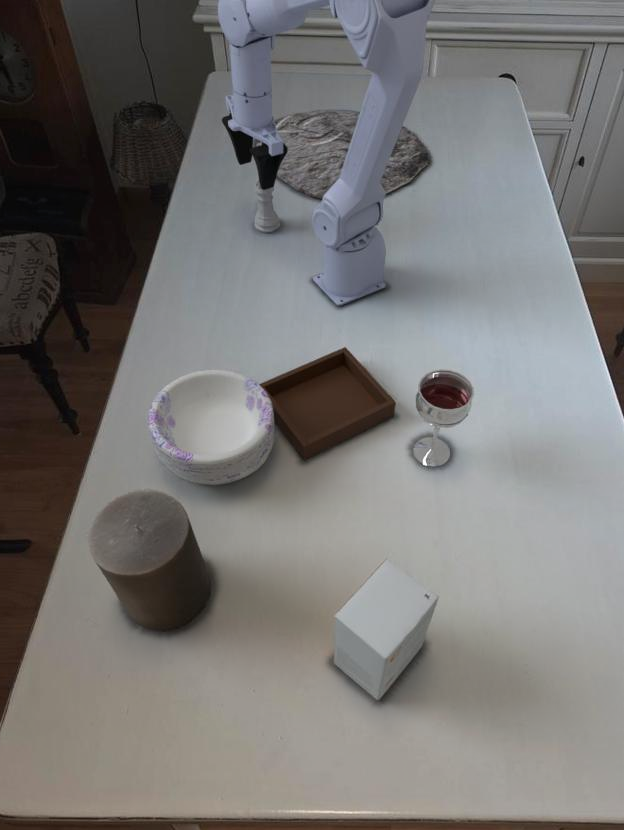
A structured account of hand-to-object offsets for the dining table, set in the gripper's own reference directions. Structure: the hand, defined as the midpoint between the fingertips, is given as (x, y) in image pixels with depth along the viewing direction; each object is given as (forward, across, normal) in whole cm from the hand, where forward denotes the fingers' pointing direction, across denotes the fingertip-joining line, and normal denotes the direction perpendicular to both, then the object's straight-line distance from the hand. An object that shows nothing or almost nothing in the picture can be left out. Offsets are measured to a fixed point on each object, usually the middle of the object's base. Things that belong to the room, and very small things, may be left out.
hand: (256, 174), depth 103 cm
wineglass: (+6, +56, -5) cm, 57 cm away
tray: (+7, +42, -13) cm, 45 cm away
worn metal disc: (+11, -14, +27) cm, 32 cm away
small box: (+5, +75, -27) cm, 80 cm away
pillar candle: (+7, +56, -43) cm, 71 cm away
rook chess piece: (+10, +1, +2) cm, 10 cm away
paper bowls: (+8, +41, -29) cm, 51 cm away
